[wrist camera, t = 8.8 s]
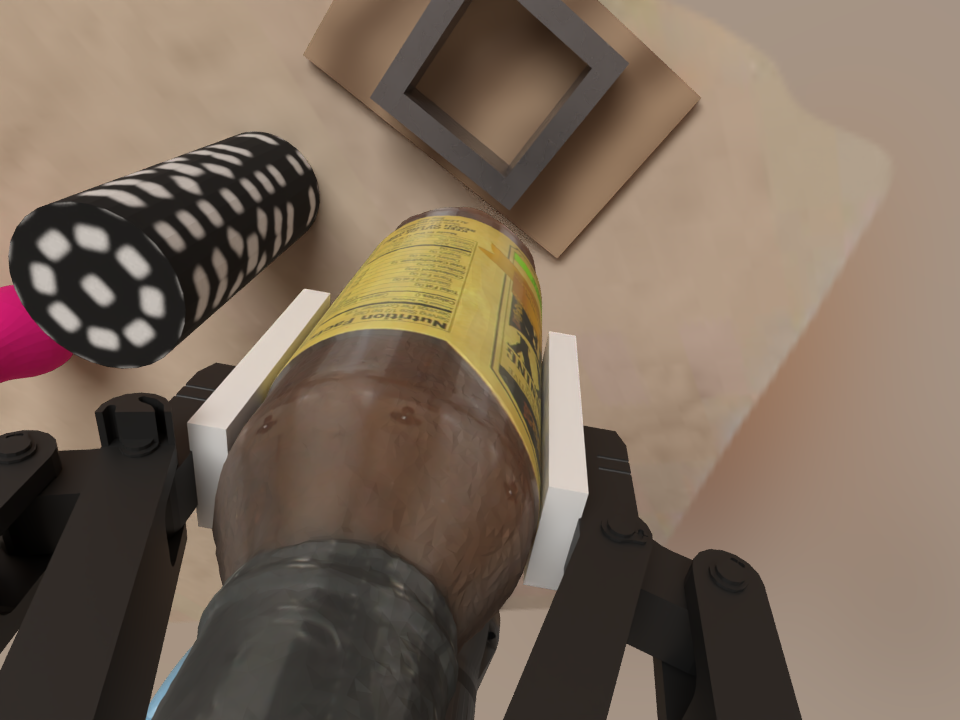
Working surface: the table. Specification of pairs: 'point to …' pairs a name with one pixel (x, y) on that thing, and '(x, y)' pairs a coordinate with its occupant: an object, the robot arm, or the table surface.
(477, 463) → the sauce bottle
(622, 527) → the robot arm
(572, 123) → the bottle socket
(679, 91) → the caddy board
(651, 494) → the table surface
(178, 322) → the spotted tube
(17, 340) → the pepper mill
